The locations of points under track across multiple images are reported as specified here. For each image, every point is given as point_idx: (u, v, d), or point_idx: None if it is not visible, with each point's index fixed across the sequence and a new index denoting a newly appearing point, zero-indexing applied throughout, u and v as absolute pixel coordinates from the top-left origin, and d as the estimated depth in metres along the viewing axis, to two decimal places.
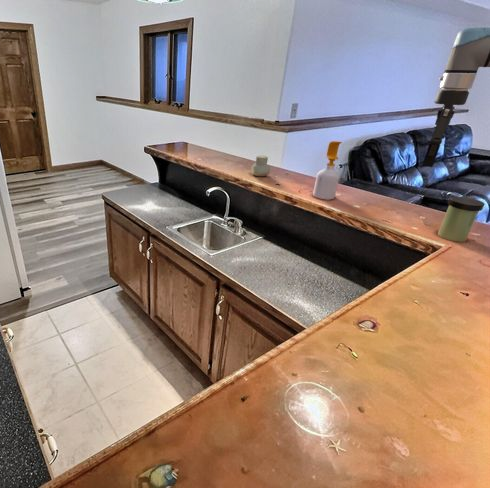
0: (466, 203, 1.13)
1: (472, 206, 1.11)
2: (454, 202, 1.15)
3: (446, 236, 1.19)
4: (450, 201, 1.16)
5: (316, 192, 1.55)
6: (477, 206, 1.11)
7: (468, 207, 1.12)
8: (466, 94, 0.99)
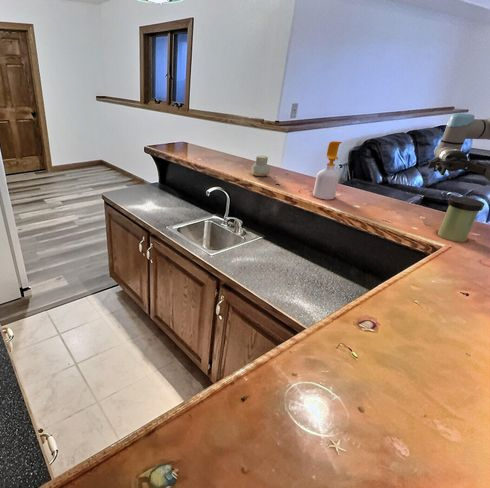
0: (466, 203, 1.13)
1: (472, 206, 1.11)
2: (454, 202, 1.15)
3: (446, 236, 1.19)
4: (450, 201, 1.16)
5: (316, 192, 1.55)
6: (477, 206, 1.11)
7: (468, 207, 1.12)
8: (451, 151, 1.35)
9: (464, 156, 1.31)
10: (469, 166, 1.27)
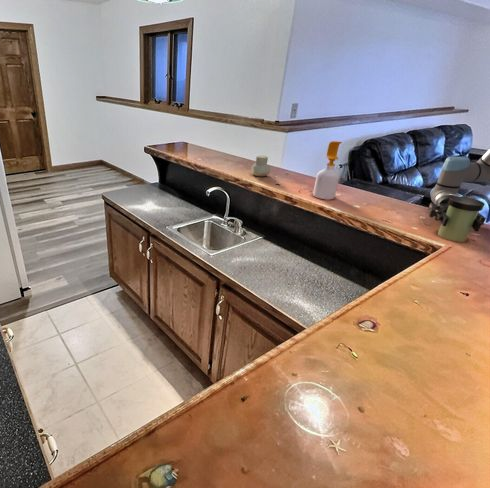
0: (466, 203, 1.13)
1: (472, 206, 1.11)
2: (454, 202, 1.15)
3: (446, 236, 1.19)
4: (450, 201, 1.16)
5: (316, 192, 1.55)
6: (477, 206, 1.11)
7: (468, 207, 1.12)
8: (445, 196, 1.31)
9: None
10: None
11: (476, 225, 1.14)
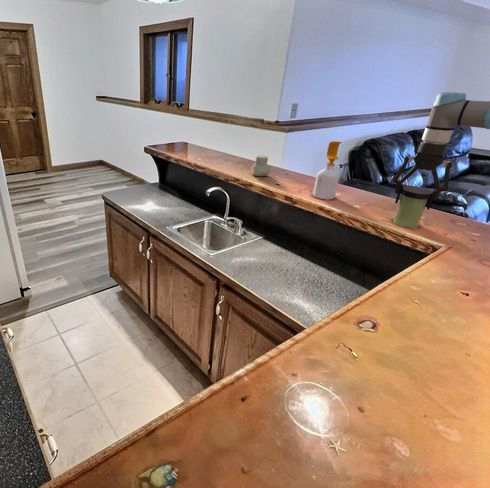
0: (416, 192, 1.22)
1: (420, 195, 1.21)
2: (405, 191, 1.24)
3: (399, 223, 1.29)
4: (402, 190, 1.26)
5: (316, 192, 1.55)
6: (425, 195, 1.21)
7: (417, 196, 1.22)
8: (426, 146, 1.16)
9: (437, 155, 1.16)
10: (432, 172, 1.20)
11: None
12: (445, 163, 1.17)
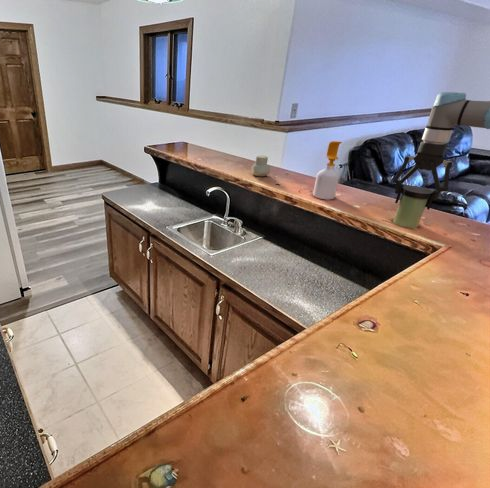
0: (426, 189, 1.25)
1: None
2: None
3: (399, 223, 1.29)
4: (430, 195, 1.21)
5: (316, 192, 1.55)
6: None
7: None
8: (426, 145, 1.16)
9: (437, 155, 1.16)
10: (432, 172, 1.20)
11: None
12: (445, 163, 1.17)
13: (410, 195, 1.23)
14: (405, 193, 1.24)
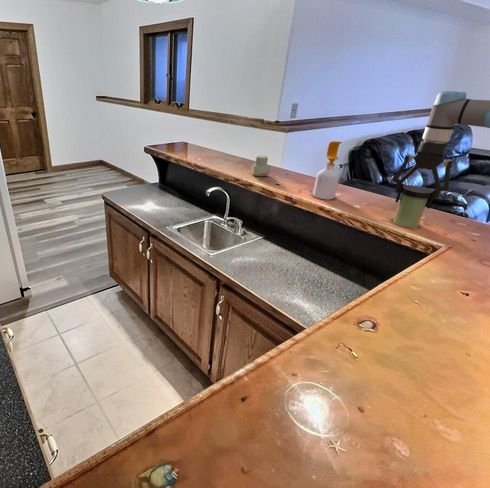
0: (406, 186, 1.27)
1: (402, 188, 1.26)
2: None
3: (399, 223, 1.29)
4: None
5: (316, 192, 1.55)
6: (404, 189, 1.25)
7: (402, 188, 1.27)
8: (426, 145, 1.16)
9: (437, 154, 1.16)
10: None
11: (428, 204, 1.24)
12: (445, 162, 1.17)
13: None
14: None
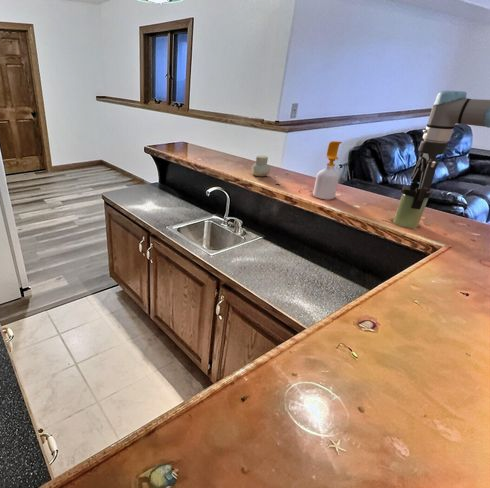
0: None
1: None
2: (407, 190, 1.24)
3: (399, 223, 1.29)
4: (403, 190, 1.25)
5: (316, 192, 1.55)
6: (427, 193, 1.21)
7: None
8: (446, 145, 1.15)
9: None
10: None
11: None
12: None
13: None
14: None
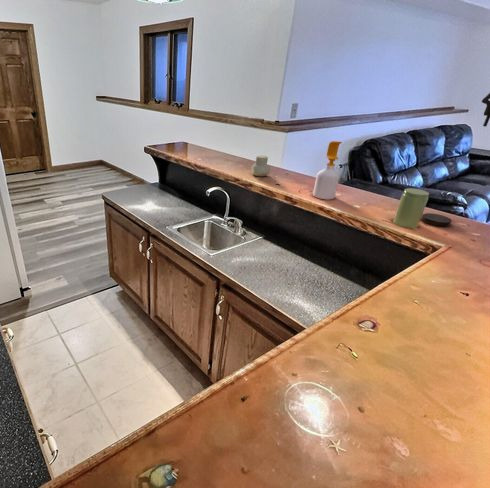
0: (447, 220, 1.29)
1: None
2: (445, 223, 1.28)
3: (399, 223, 1.29)
4: (440, 223, 1.28)
5: (316, 192, 1.55)
6: None
7: (450, 222, 1.30)
8: None
9: None
10: None
11: None
12: None
13: (422, 219, 1.33)
14: None
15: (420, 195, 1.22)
